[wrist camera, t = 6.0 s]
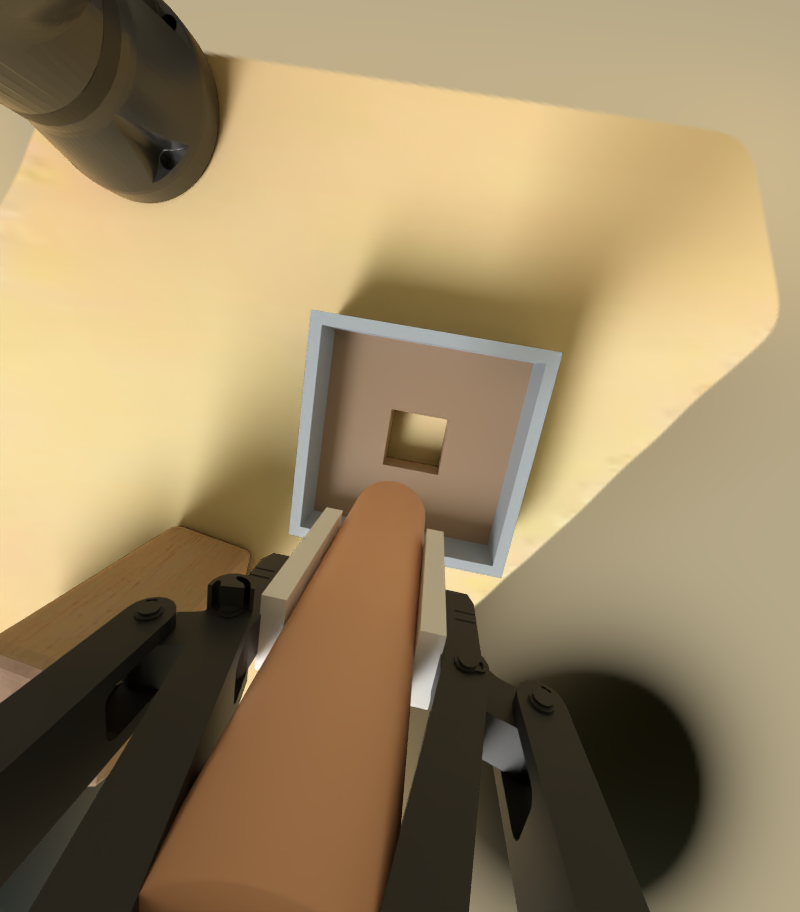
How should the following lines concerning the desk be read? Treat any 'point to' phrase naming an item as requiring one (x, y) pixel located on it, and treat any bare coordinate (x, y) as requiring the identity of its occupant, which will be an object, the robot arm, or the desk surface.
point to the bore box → (432, 394)
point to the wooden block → (117, 602)
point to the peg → (312, 741)
